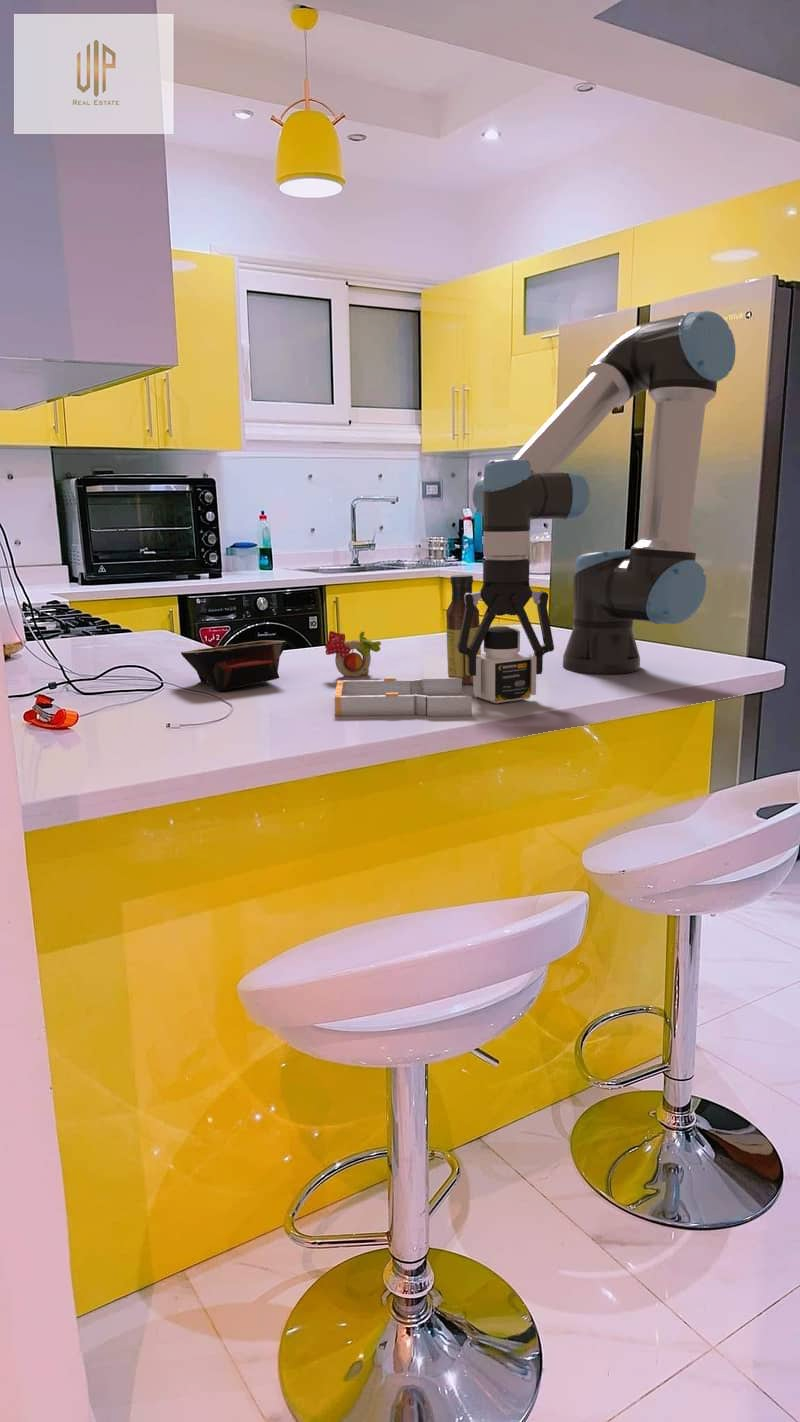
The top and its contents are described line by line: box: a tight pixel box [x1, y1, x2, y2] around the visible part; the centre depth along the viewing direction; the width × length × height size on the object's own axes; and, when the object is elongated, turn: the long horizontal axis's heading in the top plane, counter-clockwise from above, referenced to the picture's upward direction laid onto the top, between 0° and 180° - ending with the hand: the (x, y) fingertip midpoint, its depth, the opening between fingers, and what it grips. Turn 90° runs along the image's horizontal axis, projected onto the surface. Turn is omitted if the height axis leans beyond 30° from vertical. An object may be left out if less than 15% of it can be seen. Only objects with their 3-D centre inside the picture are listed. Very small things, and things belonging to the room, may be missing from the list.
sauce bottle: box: [445, 574, 482, 686], centre depth 169 cm, size 6×6×20 cm
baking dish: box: [180, 640, 288, 692], centre depth 169 cm, size 14×18×10 cm
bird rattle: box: [324, 630, 382, 678], centre depth 176 cm, size 6×11×9 cm, turn 126°
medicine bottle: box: [472, 625, 531, 704], centre depth 155 cm, size 7×7×12 cm
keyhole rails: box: [334, 676, 473, 717], centre depth 152 cm, size 22×16×3 cm
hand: (504, 693), depth 155 cm, fingers closed on medicine bottle, 8 cm apart
